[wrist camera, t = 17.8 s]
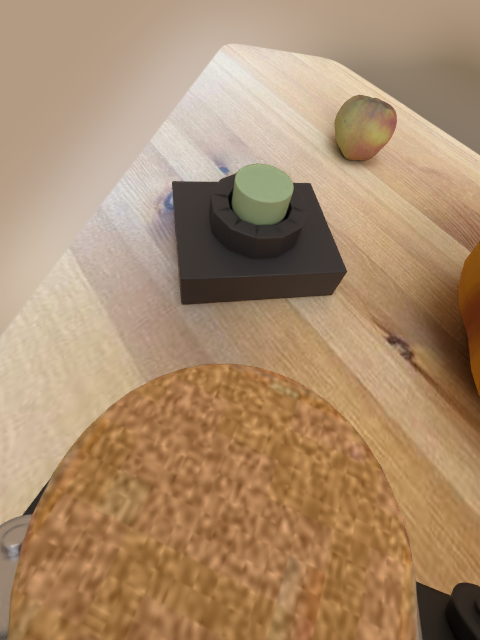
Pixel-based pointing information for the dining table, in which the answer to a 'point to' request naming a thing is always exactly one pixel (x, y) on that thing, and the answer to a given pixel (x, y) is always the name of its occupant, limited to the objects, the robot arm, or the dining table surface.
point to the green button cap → (261, 194)
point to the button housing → (251, 247)
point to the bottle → (216, 522)
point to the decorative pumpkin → (471, 309)
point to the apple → (364, 127)
